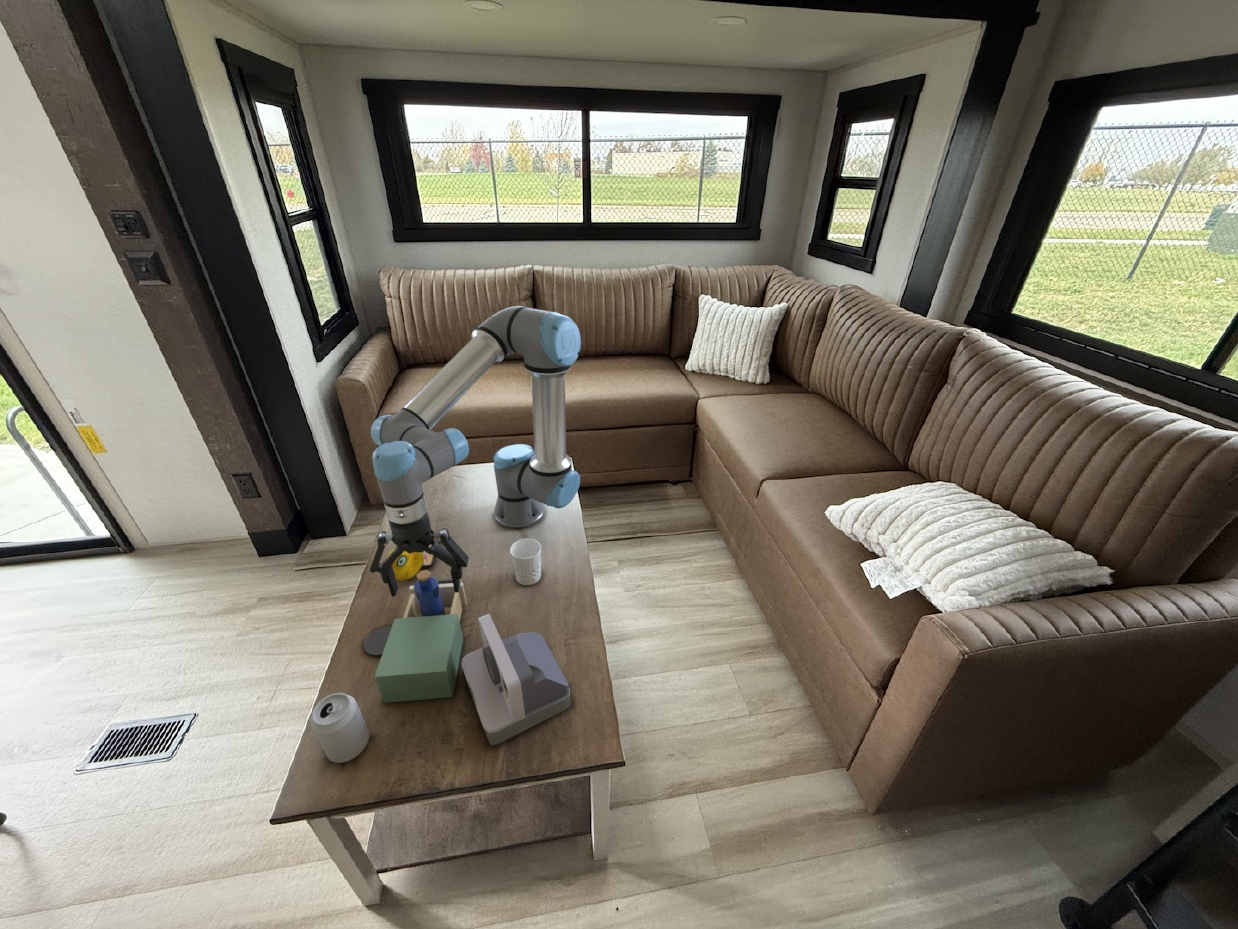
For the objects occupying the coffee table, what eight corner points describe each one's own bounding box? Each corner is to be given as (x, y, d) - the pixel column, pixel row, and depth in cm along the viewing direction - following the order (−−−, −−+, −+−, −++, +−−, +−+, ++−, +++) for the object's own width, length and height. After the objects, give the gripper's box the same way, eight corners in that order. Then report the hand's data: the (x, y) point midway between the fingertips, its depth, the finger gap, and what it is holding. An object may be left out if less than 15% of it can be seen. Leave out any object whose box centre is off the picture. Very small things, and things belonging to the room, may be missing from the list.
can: (336, 727, 97) (318, 690, 91) (376, 724, 98) (360, 687, 92) (320, 767, 91) (299, 730, 85) (362, 764, 92) (344, 726, 85)
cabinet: (402, 644, 114) (394, 618, 110) (463, 639, 116) (457, 614, 111) (384, 703, 102) (374, 677, 97) (452, 697, 103) (445, 671, 99)
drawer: (419, 593, 126) (414, 573, 123) (469, 589, 128) (465, 570, 124) (401, 651, 111) (394, 631, 108) (458, 647, 113) (453, 627, 109)
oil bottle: (426, 613, 119) (413, 567, 111) (448, 612, 120) (437, 565, 112) (421, 631, 115) (408, 583, 107) (444, 629, 116) (433, 582, 107)
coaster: (370, 628, 118) (370, 627, 118) (405, 626, 119) (405, 625, 118) (359, 657, 111) (358, 656, 111) (396, 654, 112) (396, 653, 112)
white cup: (537, 589, 129) (535, 560, 124) (509, 584, 131) (505, 556, 125) (547, 568, 136) (545, 540, 131) (520, 564, 137) (516, 536, 132)
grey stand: (462, 662, 110) (451, 615, 103) (552, 636, 117) (549, 590, 109) (474, 753, 94) (462, 706, 86) (579, 717, 100) (577, 670, 92)
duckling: (394, 594, 127) (384, 567, 121) (382, 584, 130) (372, 557, 124) (431, 568, 135) (424, 541, 129) (419, 559, 137) (411, 532, 132)
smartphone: (441, 530, 147) (431, 565, 135) (442, 532, 148) (432, 567, 135) (415, 531, 146) (403, 567, 134) (416, 534, 147) (403, 569, 134)
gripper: (336, 529, 96) (363, 606, 107) (468, 523, 99) (481, 598, 110) (349, 506, 102) (373, 581, 114) (473, 501, 105) (485, 574, 116)
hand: (426, 590), depth 112 cm, fingers open, 13 cm apart
